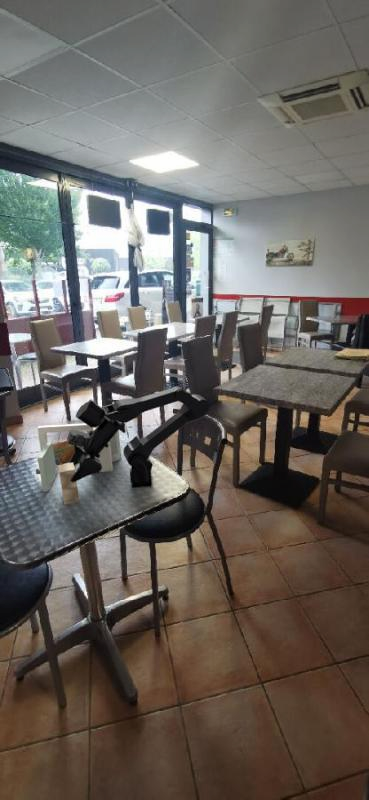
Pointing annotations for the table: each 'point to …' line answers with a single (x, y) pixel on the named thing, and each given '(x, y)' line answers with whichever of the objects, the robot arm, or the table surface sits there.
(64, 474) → the block
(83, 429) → the wall frame
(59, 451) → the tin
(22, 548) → the table surface
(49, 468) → the door
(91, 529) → the table surface
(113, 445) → the spray can
